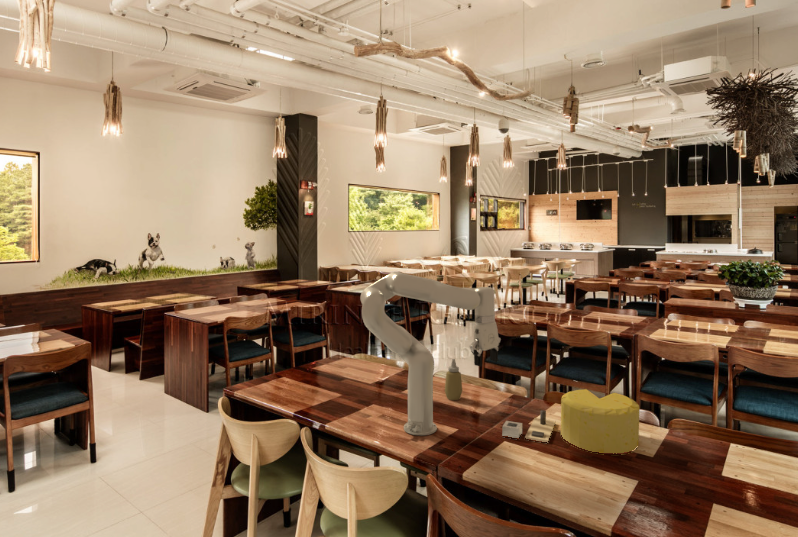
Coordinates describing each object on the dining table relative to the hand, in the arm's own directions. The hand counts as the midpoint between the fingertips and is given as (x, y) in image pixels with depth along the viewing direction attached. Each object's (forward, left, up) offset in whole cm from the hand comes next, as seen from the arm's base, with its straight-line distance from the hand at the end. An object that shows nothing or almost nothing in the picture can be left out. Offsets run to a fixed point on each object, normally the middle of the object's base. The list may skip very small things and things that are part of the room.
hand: (486, 363), depth 189 cm
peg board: (+2, -21, -24) cm, 32 cm away
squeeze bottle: (+24, +21, -25) cm, 40 cm away
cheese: (+4, -41, -25) cm, 48 cm away
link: (-6, -12, -24) cm, 28 cm away
